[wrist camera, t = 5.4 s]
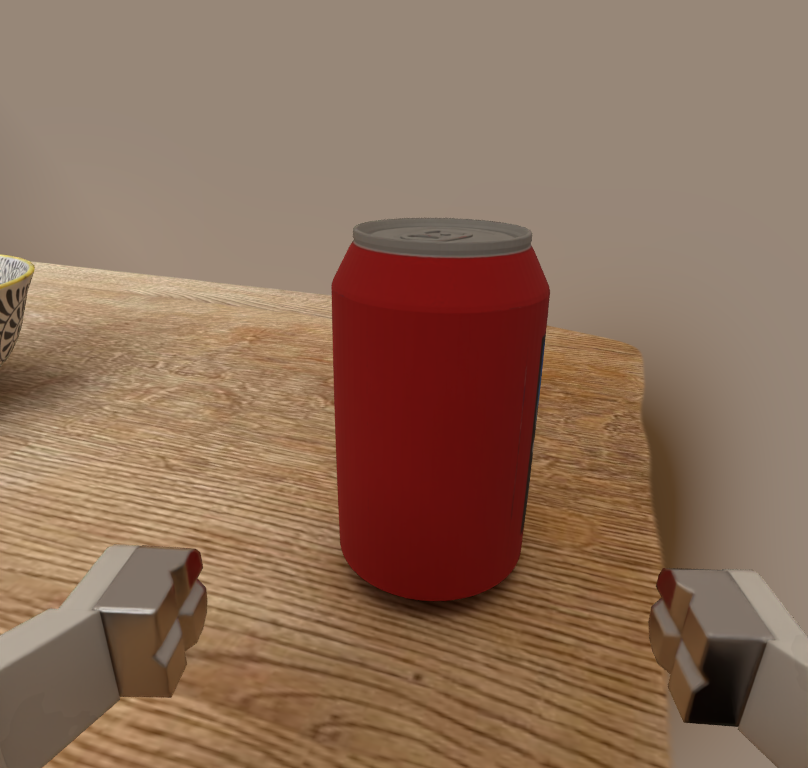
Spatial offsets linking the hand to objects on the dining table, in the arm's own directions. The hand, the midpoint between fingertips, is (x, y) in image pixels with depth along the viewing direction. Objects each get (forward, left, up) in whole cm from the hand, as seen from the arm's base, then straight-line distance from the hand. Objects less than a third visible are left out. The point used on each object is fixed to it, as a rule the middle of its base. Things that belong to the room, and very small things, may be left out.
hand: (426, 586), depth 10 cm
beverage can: (+10, -2, -7) cm, 12 cm away
